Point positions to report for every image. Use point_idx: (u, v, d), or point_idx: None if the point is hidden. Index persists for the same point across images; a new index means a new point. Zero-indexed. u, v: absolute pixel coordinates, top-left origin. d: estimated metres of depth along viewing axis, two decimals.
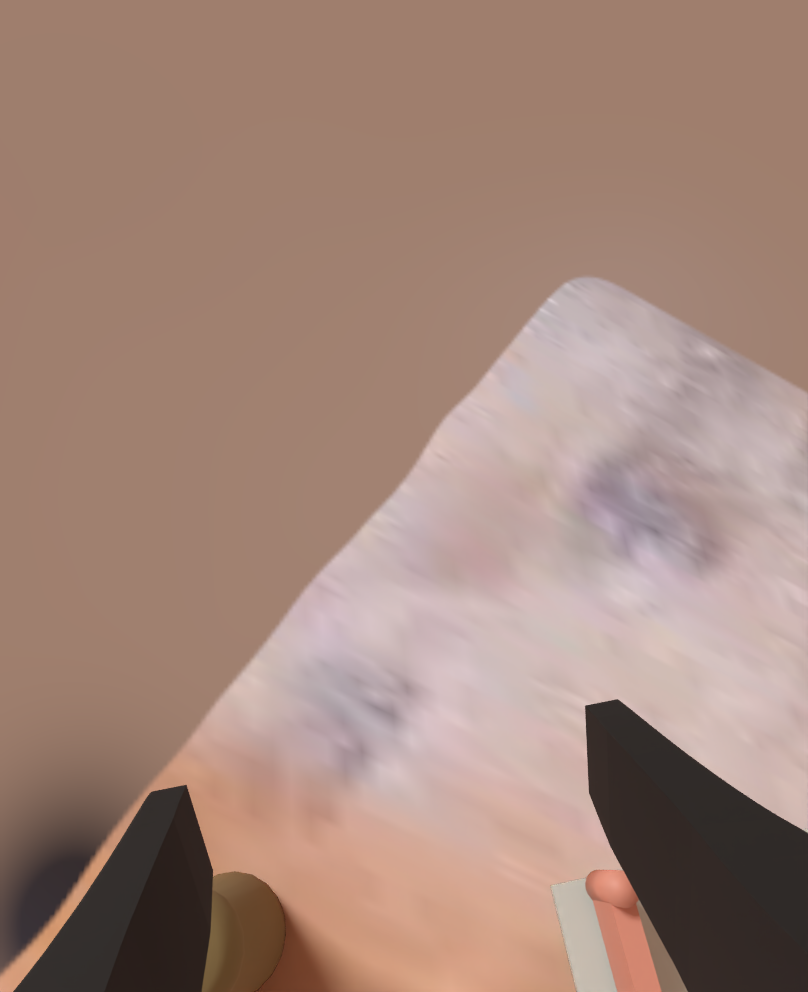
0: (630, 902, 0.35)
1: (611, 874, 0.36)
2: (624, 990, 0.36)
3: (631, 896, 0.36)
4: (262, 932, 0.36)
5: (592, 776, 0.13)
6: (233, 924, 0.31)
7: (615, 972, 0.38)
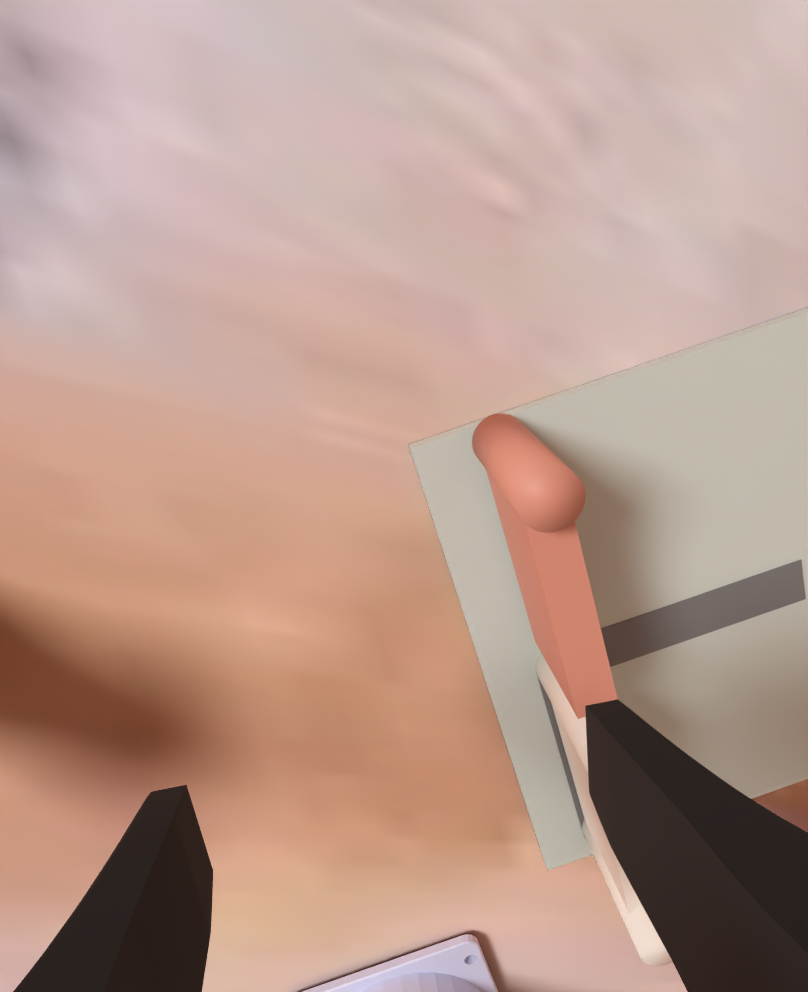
0: (563, 521, 0.17)
1: (529, 477, 0.17)
2: (532, 602, 0.22)
3: (566, 511, 0.17)
4: None
5: (592, 776, 0.13)
6: None
7: (518, 569, 0.22)
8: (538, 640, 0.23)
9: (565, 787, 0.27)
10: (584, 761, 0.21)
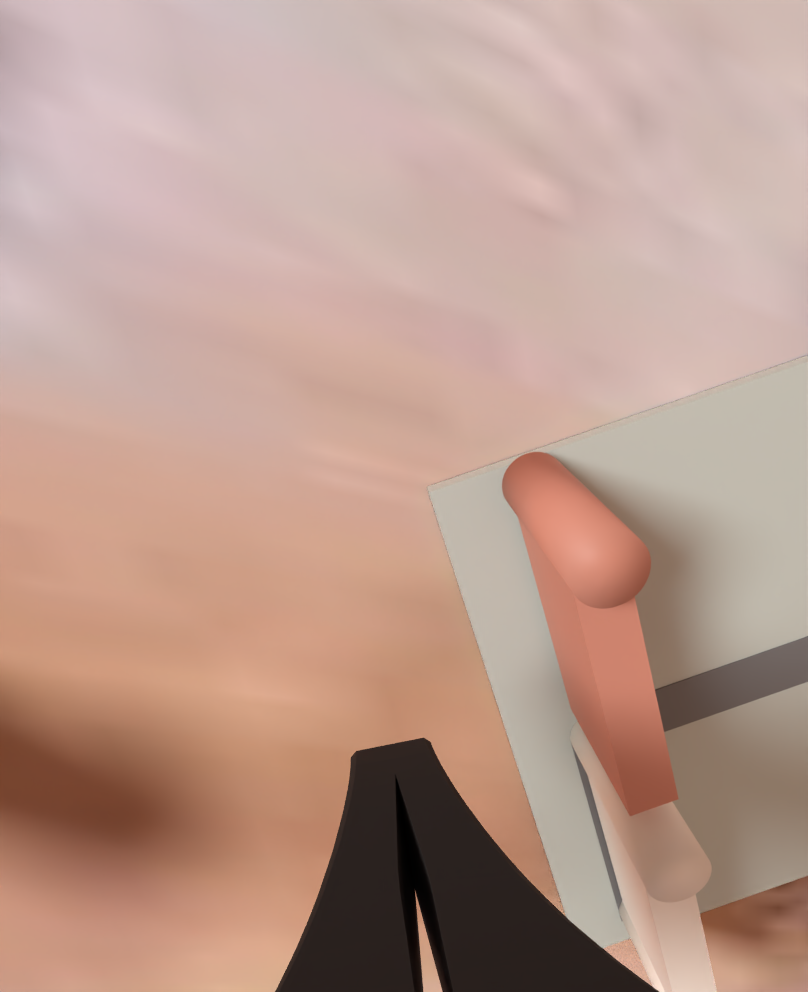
0: (623, 595, 0.14)
1: (582, 542, 0.14)
2: (573, 673, 0.18)
3: (626, 582, 0.14)
4: None
5: None
6: None
7: (555, 633, 0.19)
8: (576, 711, 0.20)
9: (601, 867, 0.24)
10: (636, 864, 0.18)
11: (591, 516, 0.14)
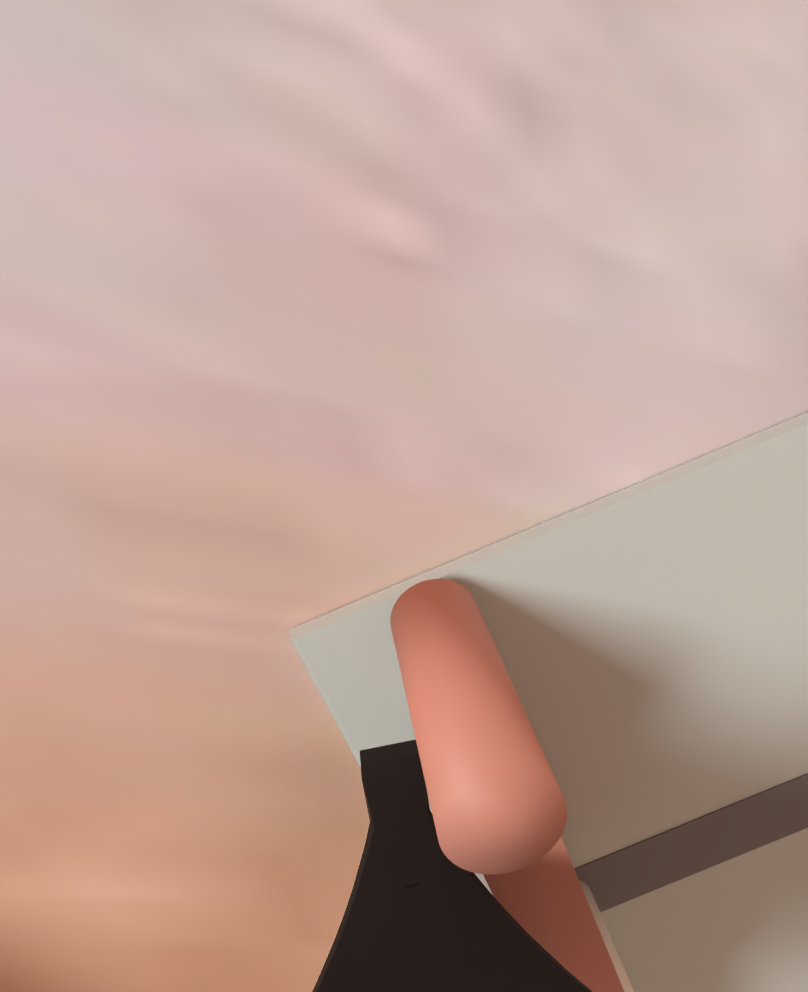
0: (529, 854, 0.09)
1: (455, 788, 0.09)
2: None
3: (532, 837, 0.09)
4: None
5: None
6: None
7: None
8: None
9: None
10: None
11: (476, 730, 0.09)
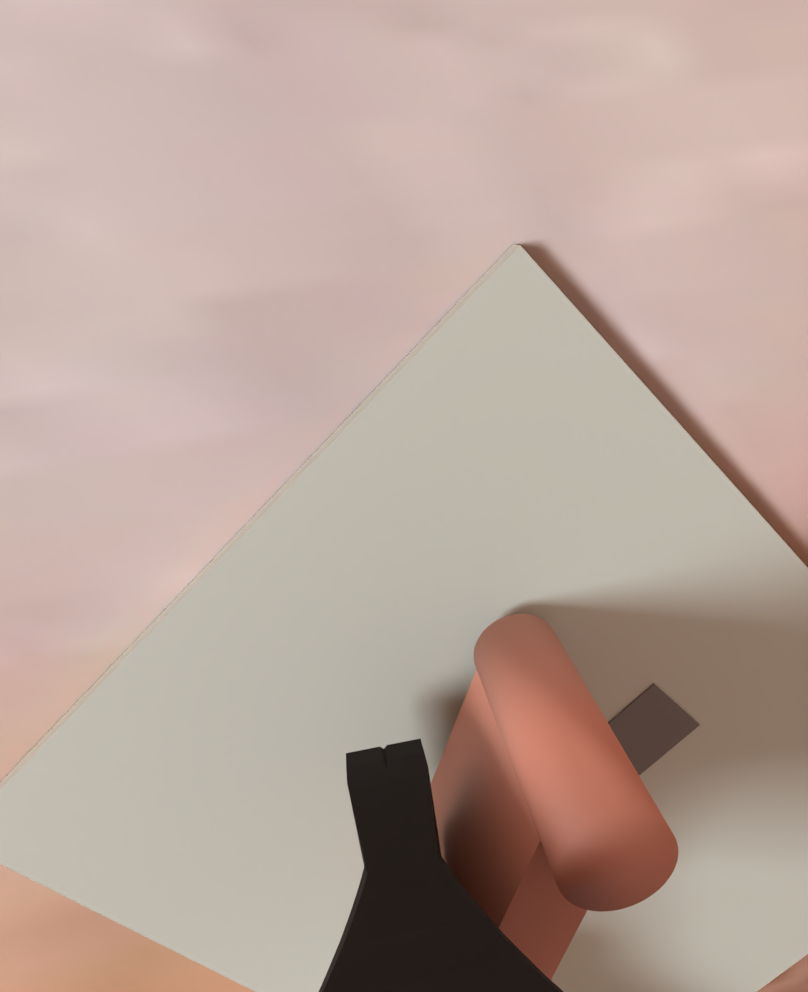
0: (610, 902, 0.10)
1: (612, 812, 0.09)
2: None
3: (624, 889, 0.10)
4: None
5: None
6: None
7: None
8: None
9: None
10: None
11: (624, 773, 0.10)
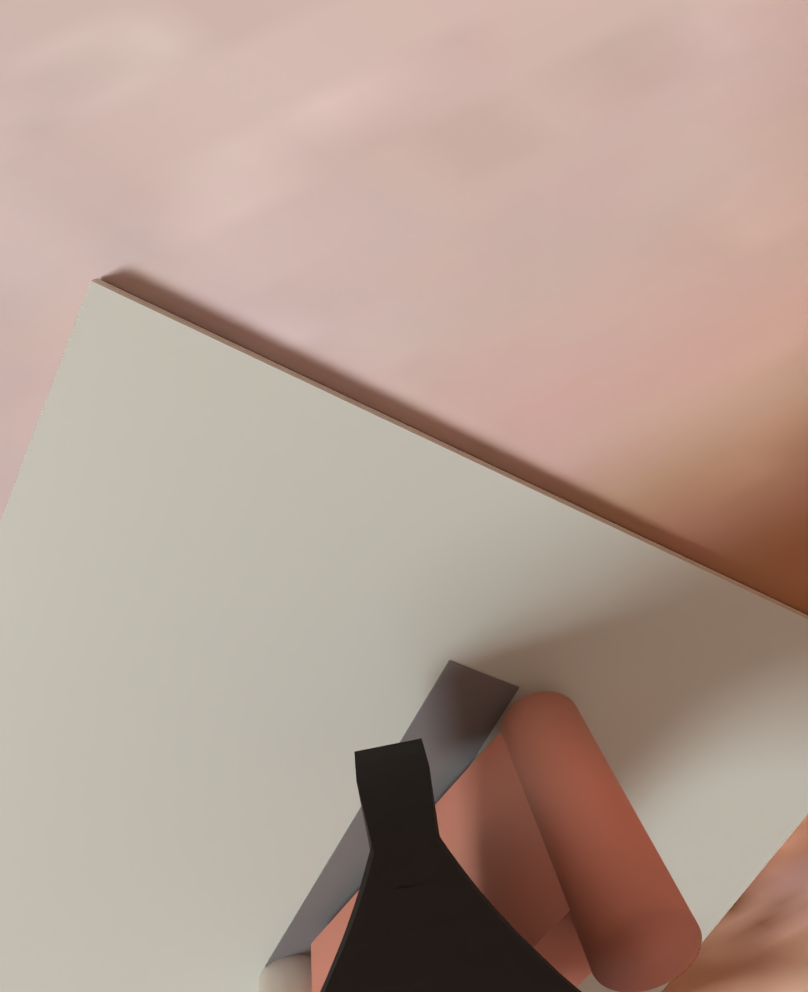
0: (625, 984, 0.10)
1: (660, 903, 0.10)
2: None
3: (641, 975, 0.10)
4: None
5: None
6: None
7: None
8: (327, 962, 0.15)
9: None
10: None
11: (663, 869, 0.11)
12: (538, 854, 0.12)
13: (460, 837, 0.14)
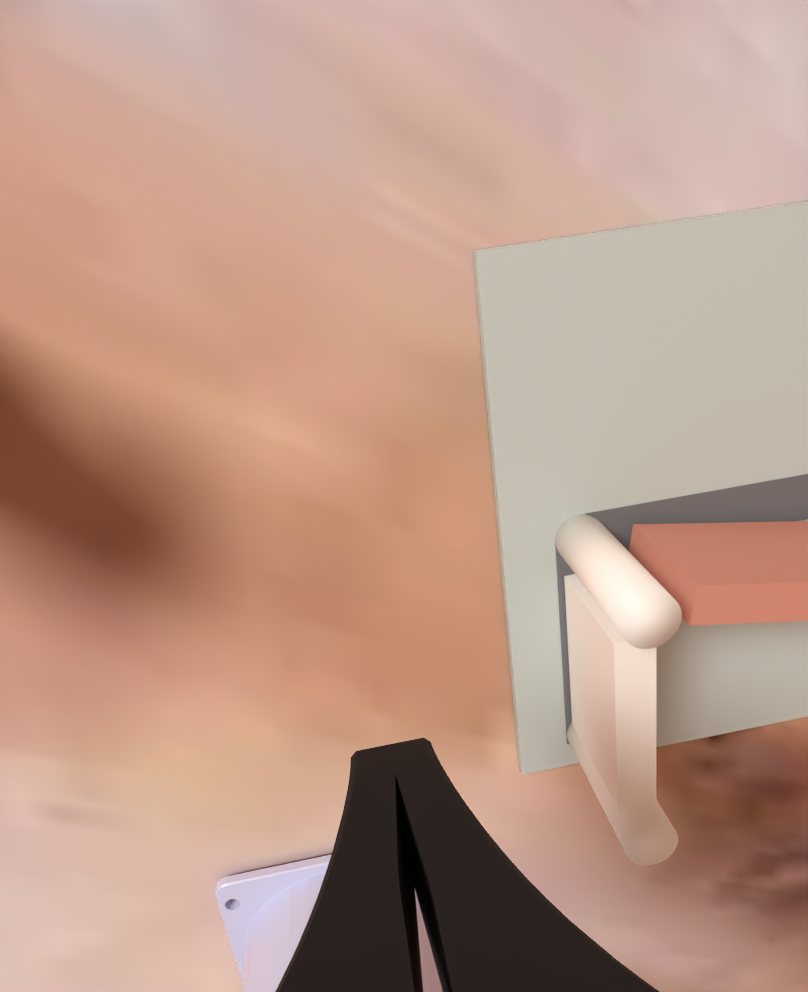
0: None
1: None
2: (741, 546, 0.22)
3: None
4: None
5: None
6: None
7: (745, 533, 0.23)
8: (661, 534, 0.22)
9: (559, 682, 0.25)
10: (613, 611, 0.19)
11: None
12: None
13: (799, 537, 0.23)
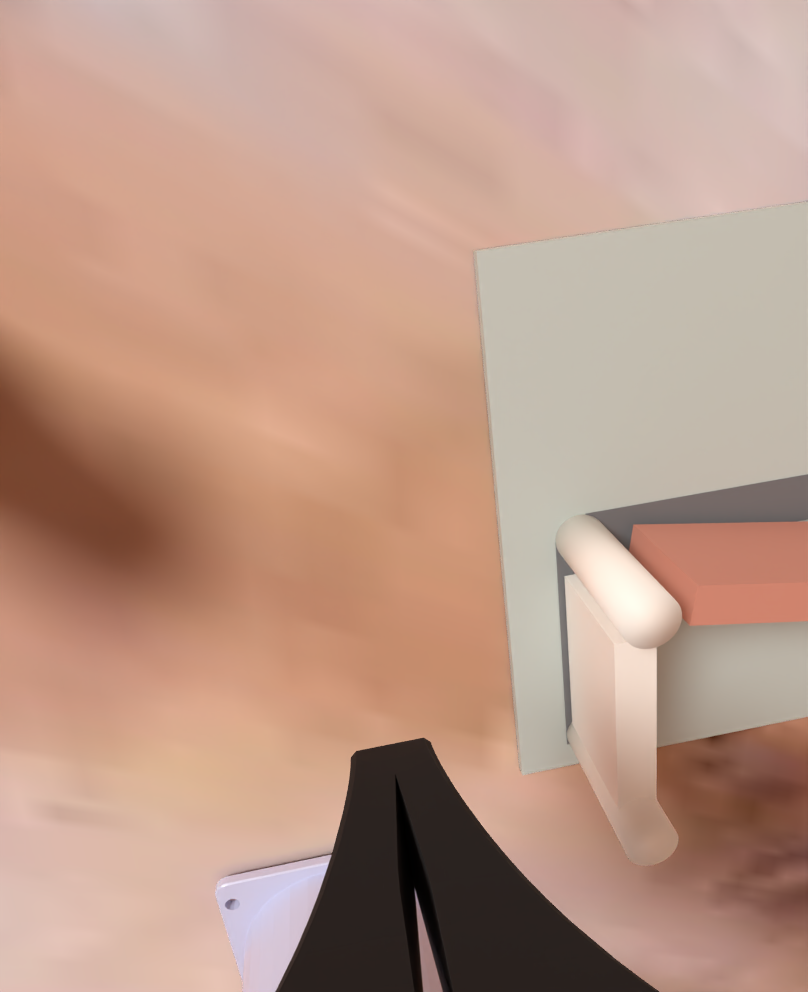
0: None
1: None
2: (741, 547, 0.22)
3: None
4: None
5: None
6: None
7: (745, 533, 0.23)
8: (661, 534, 0.22)
9: (559, 682, 0.25)
10: (614, 611, 0.19)
11: None
12: None
13: (799, 537, 0.23)
